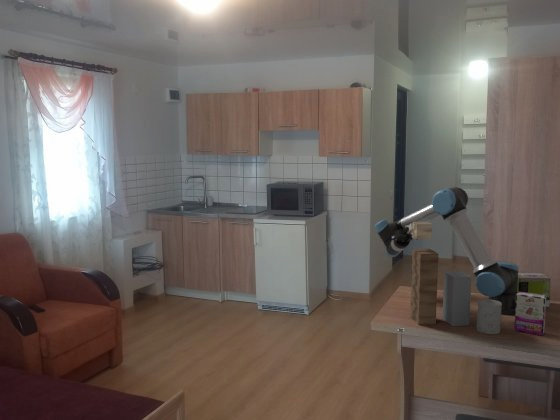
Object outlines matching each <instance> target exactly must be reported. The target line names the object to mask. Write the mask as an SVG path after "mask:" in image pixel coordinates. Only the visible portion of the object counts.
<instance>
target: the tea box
mask: <svg viewBox="0 0 560 420" xmlns="http://www.w3.org/2000/svg"><path fill="white" fill-rule="evenodd" d="M518 292H525V293H533V294H540V295H546V308H550V303H551V302H550V301H551V299H550V298H551V277H549V276H547V275H546V274H544V273H542V272H541V273H540V272H539V273H538V272H529V273H528V272H524V273H523V272H518V283H517V293H518Z"/></svg>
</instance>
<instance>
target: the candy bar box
mask: <svg viewBox="0 0 560 420" xmlns="http://www.w3.org/2000/svg"><path fill="white" fill-rule="evenodd" d="M546 308H547V307H546V295H540V294H533V293H525V292H518V293H517V294H516V311H515V314H514V315H515V317H514V331H515V332H519V331H520V332H519V333H525V332H526V334H530V333H532V334H531V335H536V334H538V336H541V335H543V336H544V334H545V332H546V331H545V325H546V324H545V323H546V311H547V309H546Z"/></svg>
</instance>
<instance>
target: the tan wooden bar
mask: <svg viewBox="0 0 560 420" xmlns="http://www.w3.org/2000/svg"><path fill="white" fill-rule="evenodd" d="M408 226H409V225H405V228H406V227H408ZM432 232H433V222H431V221H428V222H413V229H412V230H411V231H410V234H411V235H412V237H413V238H414V239H413V240H416V239H418V240H432V236H433V233H432Z"/></svg>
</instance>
